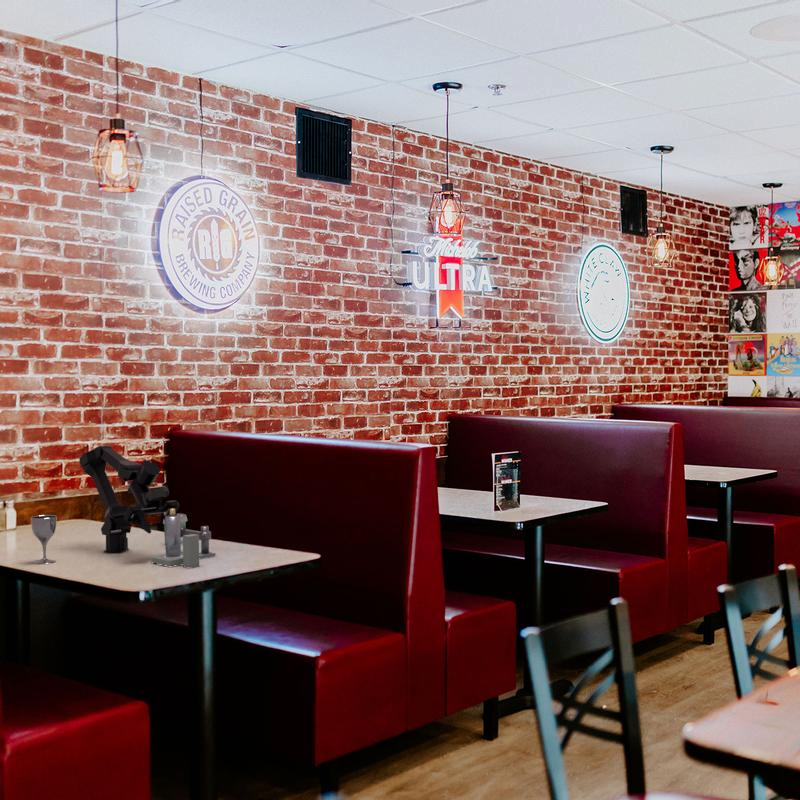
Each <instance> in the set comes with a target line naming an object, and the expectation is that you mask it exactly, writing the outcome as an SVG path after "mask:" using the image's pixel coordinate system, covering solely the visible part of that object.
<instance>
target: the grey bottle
mask: <svg viewBox="0 0 800 800" xmlns="http://www.w3.org/2000/svg"><path fill="white" fill-rule="evenodd" d="M180 538H181V537H180V516H179V515H177V514H176V513H175V509H170V516H165V534H164V545H165V555H166V557H169V558H174V557H180V556H181V554H182V548H181V547H182V546H181V545H182V544H181V542H180Z"/></svg>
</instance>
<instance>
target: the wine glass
mask: <svg viewBox="0 0 800 800" xmlns="http://www.w3.org/2000/svg"><path fill="white" fill-rule="evenodd" d="M57 517H58V516H57V515H55V514H41V515H33V516H31V517H30V523H31V524H30V525H31V530H32V534H33V535H34V537H36V539H37V540H38V542H40V543H41V546H42V552H43V557H42V559H40V560H35V561H33V563H32V564H35V565H46V564H47V565H48V564H53V563H56V562H57V560H55V559H49V558H47V545H48V542H49V541H50V539H52V537H53V536H54V534H55V532H56V529H57V522H58V521H57V520H58V519H57Z"/></svg>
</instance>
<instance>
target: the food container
mask: <svg viewBox="0 0 800 800" xmlns="http://www.w3.org/2000/svg"><path fill="white" fill-rule="evenodd" d="M176 515H179V516H180V527H185V528H186V522H188V518H187V517H188V516H187V514H184V513H176ZM162 524H163V531H164V535H165V520H164V519H163V520H162Z"/></svg>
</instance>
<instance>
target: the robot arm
mask: <svg viewBox="0 0 800 800" xmlns="http://www.w3.org/2000/svg"><path fill="white" fill-rule="evenodd" d="M79 465H80V467H81V468H82V470H83V472H84V473H85V474H86V475H88V476H90V477H91V478H92V481H93V483H94V485H95V488H96V489H97V490H96V491H97V493H98V494H99V497H100V500H101V503H102V504H103V507H104V509H105V515H104V523H103V524H102V526H101V528H100V532H101V535H103V536H105V550H103V553H109V552H121V553H123V551H124V552H127V551H129V550H130V548H129V538H128V537H127V534H130V533H131V530H132V525H134V526H136V527H138V528H140V529H142V530H143V531H144V532H146V533H148V534H149V535H150V534H152V529H151V527H150V525H149V523H148V521H147V519H146V517H145V515H155V514H161V516H162V517H163V520H165V516H170V509H175V514H177V512H178V510H179V509H180V503H179V502H178V500H168V501H166V502H165V503H164V505H162V506H161V504H162V502H163V501H162V500H163V499H165V498H167V497H168V496H169V495H170V491H169V490H170V489H169V488H168V486H165V485H164V486H161V487H159V488H153V489H151V488H150V486H152V485H153V483H154V482H155V481H156V479H157V477H158V476H159V474H160V472H161V469H160V467H159V466H158V464H156V463H154V462H152V461H151V460H150V459H147V460H143V462H142V464H141V463H138V462H136V461H130V460H128V459H126V458H125V457H124V456H122V455H121V454H120V453H119V452H117V451H116V450H114V448H113V447H112V446H111V445H99V446H96V447H95V448H93V449H91V450H89V451H87V452H83V453H82V455H81V456H80V457H79ZM108 465H109V466H110V467H112V468H113V469H114V470H116V471H117V477H119V478H120V480H121V481H122V482H123V483H125V482H126V483H127V482H130V484H128V487H127V491H126V492H127V493H128V494H130V493H132V495H133V496H134V499H135V502H134V505H133V504H132V505H129V506H128V505H127V504H126V505H125V504H124V505H121V504H120V502H119V500H118V498H117V496H116V493H115V491H114V488H113V486H112V483H111V482H110V479H109V477H108V475H107V471H106V468H107V466H108ZM126 550H127V551H126Z"/></svg>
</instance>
